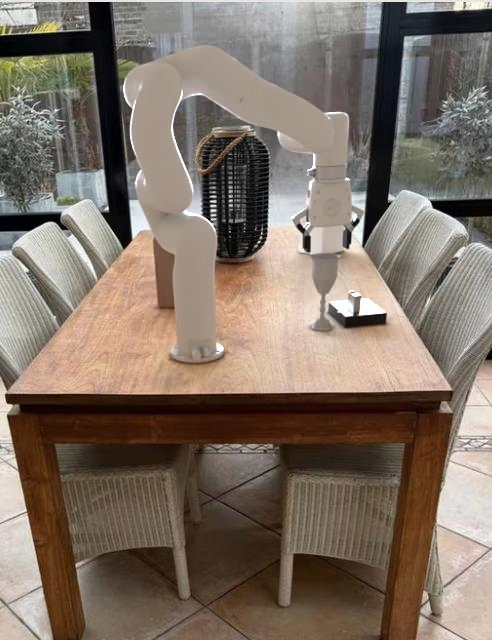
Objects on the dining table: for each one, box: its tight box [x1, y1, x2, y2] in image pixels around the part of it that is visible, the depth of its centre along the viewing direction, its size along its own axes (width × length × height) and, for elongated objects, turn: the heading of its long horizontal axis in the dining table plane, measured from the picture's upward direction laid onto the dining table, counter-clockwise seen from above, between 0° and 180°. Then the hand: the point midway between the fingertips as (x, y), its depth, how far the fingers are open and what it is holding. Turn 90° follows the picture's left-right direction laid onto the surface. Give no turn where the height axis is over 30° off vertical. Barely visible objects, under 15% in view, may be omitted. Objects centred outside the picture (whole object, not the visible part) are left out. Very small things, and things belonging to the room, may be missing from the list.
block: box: [152, 236, 175, 309], centre depth 190 cm, size 10×10×20 cm
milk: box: [297, 193, 345, 255], centre depth 239 cm, size 12×12×26 cm
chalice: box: [310, 253, 341, 332], centre depth 165 cm, size 7×7×18 cm
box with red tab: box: [347, 289, 362, 314], centre depth 169 cm, size 5×2×5 cm, turn 8°
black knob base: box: [327, 297, 388, 329], centre depth 173 cm, size 14×12×3 cm
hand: (326, 249), depth 160 cm, fingers open, 9 cm apart
